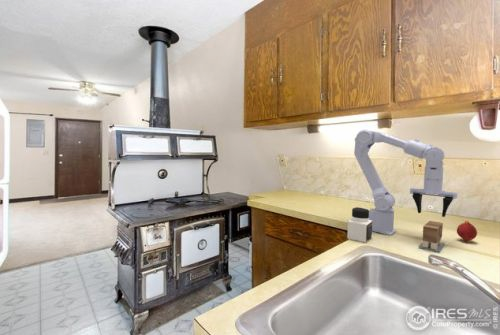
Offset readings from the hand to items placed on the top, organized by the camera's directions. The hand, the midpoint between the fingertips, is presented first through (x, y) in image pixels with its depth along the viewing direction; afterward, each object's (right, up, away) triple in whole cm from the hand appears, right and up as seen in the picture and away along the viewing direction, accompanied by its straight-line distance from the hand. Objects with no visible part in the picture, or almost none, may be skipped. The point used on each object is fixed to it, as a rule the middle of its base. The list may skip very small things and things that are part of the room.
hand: (431, 214), depth 96 cm
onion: (+13, -10, -1) cm, 16 cm away
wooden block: (-4, -7, -6) cm, 11 cm away
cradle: (-4, -10, -6) cm, 13 cm away
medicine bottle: (-27, -10, +2) cm, 29 cm away
